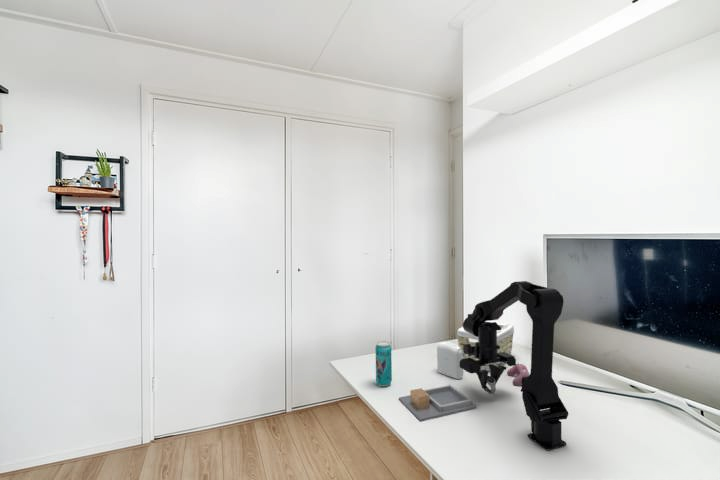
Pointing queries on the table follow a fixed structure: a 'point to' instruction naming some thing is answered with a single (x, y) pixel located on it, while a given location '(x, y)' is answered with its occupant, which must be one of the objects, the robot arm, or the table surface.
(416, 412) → the grey tray
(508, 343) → the storage basket
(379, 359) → the beverage can
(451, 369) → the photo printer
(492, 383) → the wristwatch
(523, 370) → the video game controller
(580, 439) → the table surface
